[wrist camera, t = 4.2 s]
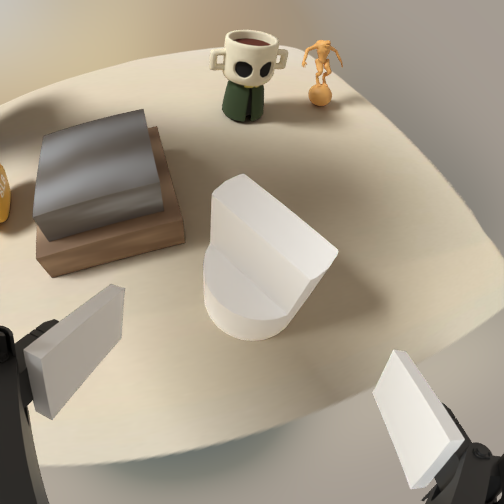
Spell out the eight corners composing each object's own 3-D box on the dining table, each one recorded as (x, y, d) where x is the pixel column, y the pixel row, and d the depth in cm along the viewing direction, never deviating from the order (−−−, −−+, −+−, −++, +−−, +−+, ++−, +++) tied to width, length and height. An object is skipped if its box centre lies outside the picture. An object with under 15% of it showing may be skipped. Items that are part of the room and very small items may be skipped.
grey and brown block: (53, 178, 35) (34, 132, 28) (159, 150, 39) (154, 99, 32) (51, 277, 28) (17, 235, 21) (184, 242, 32) (180, 190, 25)
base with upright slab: (314, 296, 31) (364, 228, 21) (252, 360, 27) (280, 317, 17) (250, 239, 34) (268, 153, 23) (184, 292, 30) (172, 215, 19)
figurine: (303, 112, 47) (321, 49, 37) (285, 93, 50) (299, 34, 40) (342, 108, 50) (362, 52, 40) (323, 91, 53) (340, 36, 42)
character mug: (211, 129, 42) (216, 47, 31) (203, 103, 46) (206, 29, 34) (283, 124, 45) (301, 49, 34) (268, 99, 48) (282, 30, 37)
